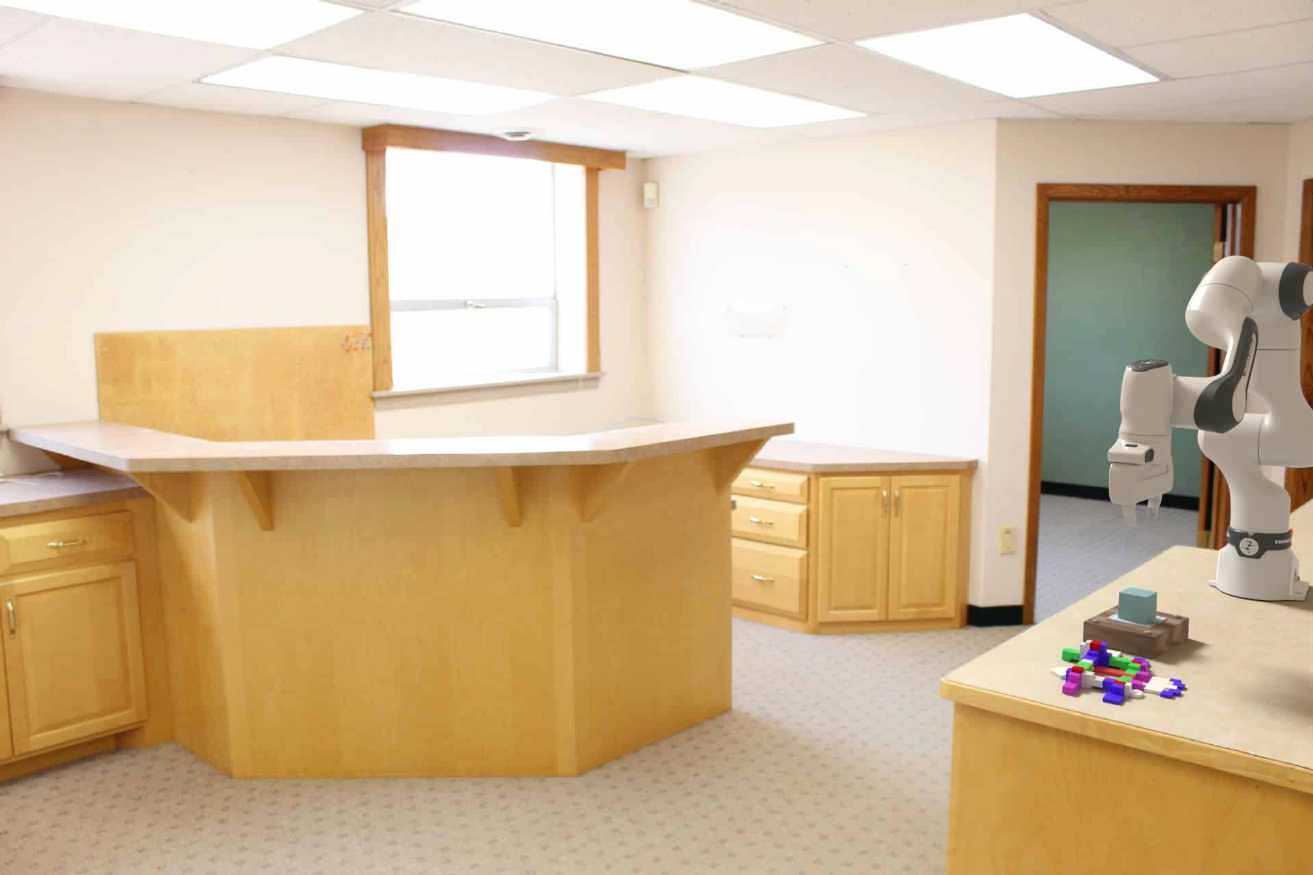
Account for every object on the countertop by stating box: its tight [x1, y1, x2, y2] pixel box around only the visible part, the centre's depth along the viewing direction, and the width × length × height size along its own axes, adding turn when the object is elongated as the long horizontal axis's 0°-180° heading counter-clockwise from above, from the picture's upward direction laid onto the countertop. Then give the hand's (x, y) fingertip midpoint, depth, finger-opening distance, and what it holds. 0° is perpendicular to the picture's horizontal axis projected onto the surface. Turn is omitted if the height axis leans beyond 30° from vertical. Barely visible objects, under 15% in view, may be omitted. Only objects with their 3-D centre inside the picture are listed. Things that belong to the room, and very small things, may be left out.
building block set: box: [1050, 640, 1186, 706], centre depth 179 cm, size 25×20×4 cm
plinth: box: [1082, 604, 1190, 659], centre depth 198 cm, size 16×13×4 cm
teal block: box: [1118, 586, 1158, 624], centre depth 197 cm, size 5×5×5 cm
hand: (1141, 521), depth 195 cm, fingers open, 8 cm apart
